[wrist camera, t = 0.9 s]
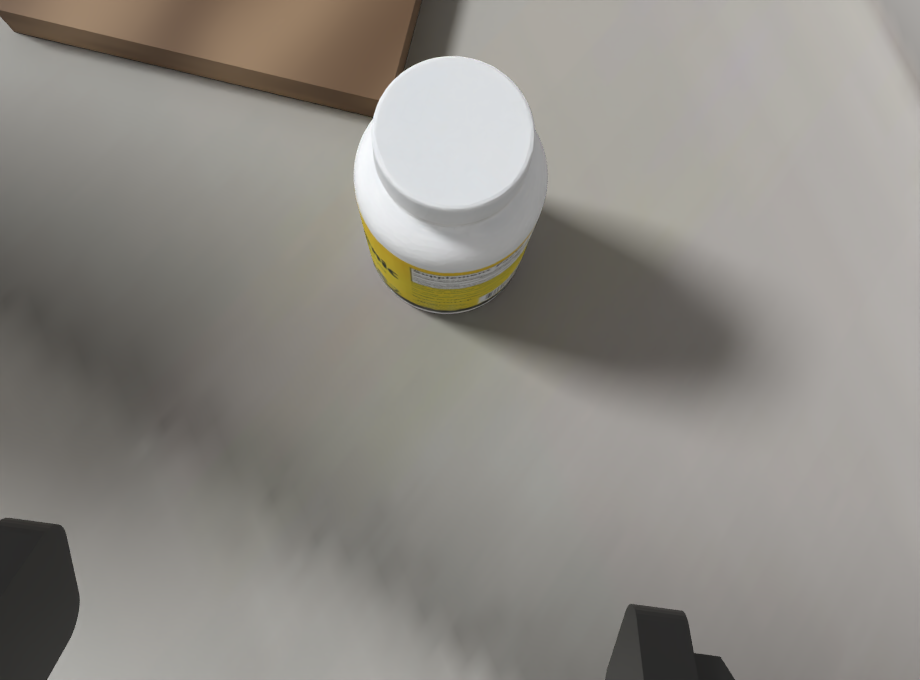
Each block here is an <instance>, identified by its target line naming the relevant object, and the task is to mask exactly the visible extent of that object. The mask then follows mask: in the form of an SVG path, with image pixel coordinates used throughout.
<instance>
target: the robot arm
mask: <svg viewBox="0 0 920 680" xmlns="http://www.w3.org/2000/svg"><path fill="white" fill-rule="evenodd" d="M79 603H80V599H79V591H78V587H77V582H76V577H75V573H74V568H73V564H72V559H71V554H70V550H69V545H68V541H67V536H66V533H65V530H64V528H63V527H62V526H61V525H58V524H50V523H43V522H35V521H28V520H21V519H13V518H4V519H2V520H0V680H47V679H48V677H49V675H50V673H51V671H52V670H53V668H54V666H55V664H56V663H57V661H58V659H59V657H60V656H61V654H62V652H63V650H64V649H65V647H66V645H67V643H68V641H69V640H70V638H71V635H72V633H73V630H74V628H75V625H76V621H77V617H78V612H79ZM605 680H735V679H734V678H733V676H732V674H731V673H730V671H729V670H728V668H727V667H726V665H725V663H724V662H723V660H722V659H721V657H718V656H711V655H704V654H696V653H694V652H693V646H692V641H691V635H690V630H689V624H688V620H687V617H686V615H685V613H684V612H683V611H680V610H672V609H665V608H657V607H650V606H643V605H635V604H629V606H628V607H627V609H626V612H625V615H624V618H623V621H622V624H621V627H620V631H619V634H618V637H617V640H616V643H615V646H614V649H613V653H612V656H611V659H610V662H609V665H608V669H607V673H606V678H605Z"/></svg>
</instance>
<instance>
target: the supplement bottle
mask: <svg viewBox="0 0 920 680" xmlns="http://www.w3.org/2000/svg"><path fill="white" fill-rule="evenodd" d="M547 183H548V169H547V161H546V156H545V152H544V149H543V146H542V143H541V140H540V138H539V136H538V134H537V132H536V130H535V125H534V120H533V116H532V112H531V109H530V107H529V105H528V102H527V101H526V99H525V97H524V95H523V94H522V92H521V91H520V89H519V88H518V87H517V86H516V84H515V83H514V82H513V81H512V80H511V79H510V78H509V77H508V76H506V75H505V74H504V73H502V72H501V71H500V70H498V69H497V68H495V67H493V66H491V65H489V64H487V63H485V62H482V61H479V60H476V59H472V58H467V57H461V56H444V57H437V58H432V59H428V60H425V61H422V62H420V63H418V64H415V65H413V66H412V67H410V68H408V69H407V70H405V71H404V72H402V73H401V74H400V75H399V76H398V77H396V78H395V79H394V80H393V81H392V82H391V83H390V85H389V86H388V87H387V88H386V90H385V91H384V93H383V94H382V96H381V98H380V99H379V102H378V104H377V107H376V110H375V113H374V116H373V120H372V121H371V122H370V124H369V125H368V127H367V129H366V130H365V132H364V134H363V136H362V138H361V141H360V144H359V147H358V150H357V154H356V158H355V164H354V185H355V195H356V200H357V204H358V208H359V212H360V215H361V220H362V224H363V227H364V232H365V235H366V239H367V242H368V245H369V249H370V253H371V256H372V259H373V262H374V265H375V267H376V269H377V271H378V273H379V275H380V277H381V279H382V280H383V282H384V283H385V284H386V285H387V287H388V288H389V289H390V290H391V291H392V292H393V293H394V294H395V295H396V296H397V297H399V298H400V299H402V300H403V301H404V302H406V303H408V304H410V305H411V306H414V307H416V308H418V309H421V310H424V311H428V312H433V313H440V314H454V313H461V312H466V311H470V310H473V309H476V308H478V307H480V306H482V305H484V304H486V303H488V302H489V301H491V300H492V299H493V298H495V297H496V296H497V295H498V294H499V293H500V292H501V291H502V290H503V289H504V288H505V287H506V286H507V284H508V283H509V282H510V280H511V279H512V277H513V275H514V274H515V272H516V270H517V268H518V266H519V264H520V262H521V259H522V257H523V254H524V252H525V249H526V247H527V244H528V242H529V240H530V237H531V235H532V233H533V230H534V228H535V226H536V223H537V221H538V219H539V216H540V214H541V211H542V208H543V205H544V201H545V197H546V192H547Z"/></svg>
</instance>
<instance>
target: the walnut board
mask: <svg viewBox="0 0 920 680" xmlns="http://www.w3.org/2000/svg"><path fill="white" fill-rule="evenodd" d="M421 2H422V0H0V17H1V18H2V19H3V20H4V21H5V22H6V23H7V24H8V25H9V26H10V28H11V29H12V30H13V31H14V32H18V33H22V34H26V35H31V36H35V37H39V38H43V39H47V40H52V41H56V42H60V43H64V44H68V45H73V46H77V47H81V48H85V49H89V50H94V51H98V52H102V53H106V54H110V55H115V56H119V57H123V58H127V59H131V60H136V61H140V62H144V63H148V64H152V65H157V66H161V67H165V68H169V69H174V70H178V71H182V72H186V73H190V74H195V75H199V76H203V77H207V78H211V79H216V80H220V81H224V82H228V83H232V84H237V85H241V86H245V87H249V88H253V89H258V90H262V91H266V92H270V93H274V94H279V95H283V96H287V97H291V98H295V99H300V100H304V101H308V102H312V103H317V104H321V105H325V106H329V107H333V108H338V109H342V110H346V111H350V112H354V113H359V114H363V115H367V116H371V117H373V116H374V113H375V110H376V107H377V104H378V102H379V99H380V98H381V96H382V94H383V93H384V91H385V90H386V88H387V87H388V86H389V85H390V83H391V82H392V81H393V80H394V79H395V78H396V77H398V76H399V75H400V74H401V73H402V72H403V70H404V66H405V62H406V59H407V55H408V51H409V47H410V43H411V40H412V36H413V32H414V28H415V24H416V21H417V17H418V13H419V9H420V5H421Z"/></svg>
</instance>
